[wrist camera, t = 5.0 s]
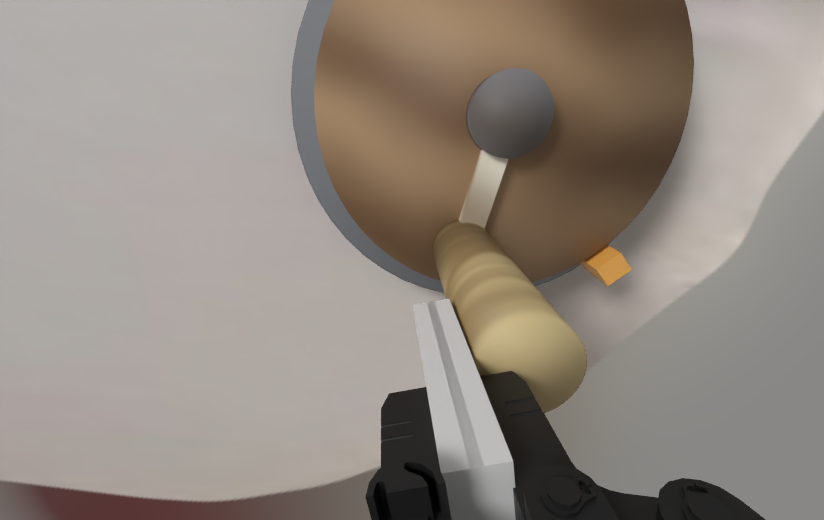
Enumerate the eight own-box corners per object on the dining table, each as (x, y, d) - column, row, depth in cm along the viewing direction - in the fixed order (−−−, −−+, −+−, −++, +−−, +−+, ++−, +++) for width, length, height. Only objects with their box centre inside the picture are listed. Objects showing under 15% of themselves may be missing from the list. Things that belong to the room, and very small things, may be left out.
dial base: (369, -206, 16) (361, -337, 12) (737, -4, 20) (846, -43, 15) (261, 221, 22) (227, 248, 18) (556, 319, 26) (593, 363, 21)
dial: (365, -166, 15) (289, -1006, 4) (728, -24, 17) (1346, -287, 6) (295, 234, 21) (178, 371, 9) (579, 301, 23) (762, 476, 12)
